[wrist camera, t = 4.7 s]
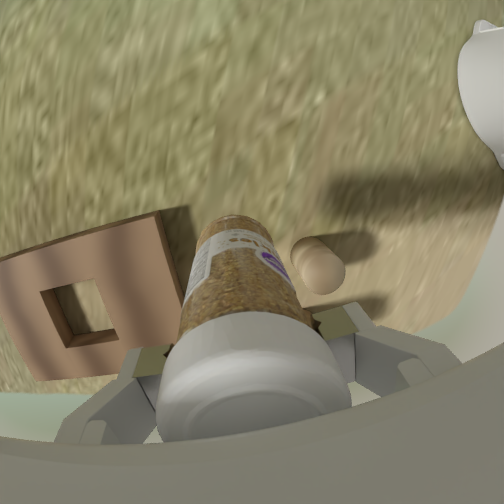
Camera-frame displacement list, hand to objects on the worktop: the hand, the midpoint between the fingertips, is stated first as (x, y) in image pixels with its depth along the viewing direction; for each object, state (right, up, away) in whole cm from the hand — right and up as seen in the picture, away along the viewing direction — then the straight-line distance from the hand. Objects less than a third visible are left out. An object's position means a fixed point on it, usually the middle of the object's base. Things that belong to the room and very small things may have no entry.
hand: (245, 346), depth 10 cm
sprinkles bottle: (-1, +3, +9) cm, 10 cm away
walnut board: (-16, -2, +19) cm, 25 cm away
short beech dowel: (+5, +3, +20) cm, 21 cm away
